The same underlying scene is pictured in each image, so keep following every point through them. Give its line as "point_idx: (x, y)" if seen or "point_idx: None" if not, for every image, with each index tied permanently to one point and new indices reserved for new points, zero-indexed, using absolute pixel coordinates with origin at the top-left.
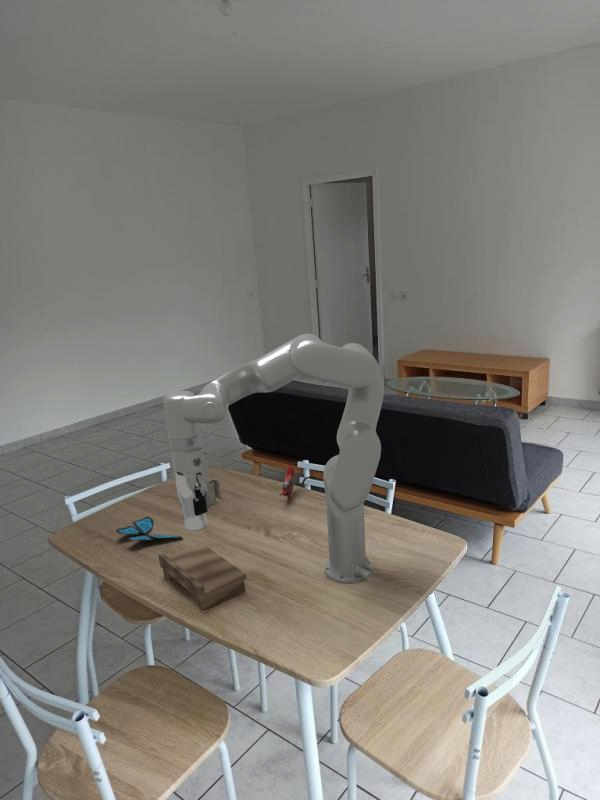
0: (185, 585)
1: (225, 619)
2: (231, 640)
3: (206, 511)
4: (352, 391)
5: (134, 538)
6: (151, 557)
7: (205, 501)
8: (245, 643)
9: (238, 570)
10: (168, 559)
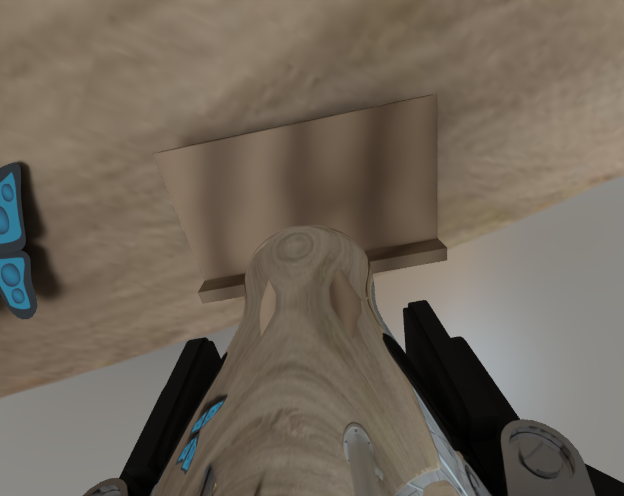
0: None
1: (471, 194)
2: (540, 208)
3: (425, 303)
4: None
5: (16, 298)
6: (111, 264)
7: (470, 372)
8: (572, 187)
9: (399, 108)
10: None
